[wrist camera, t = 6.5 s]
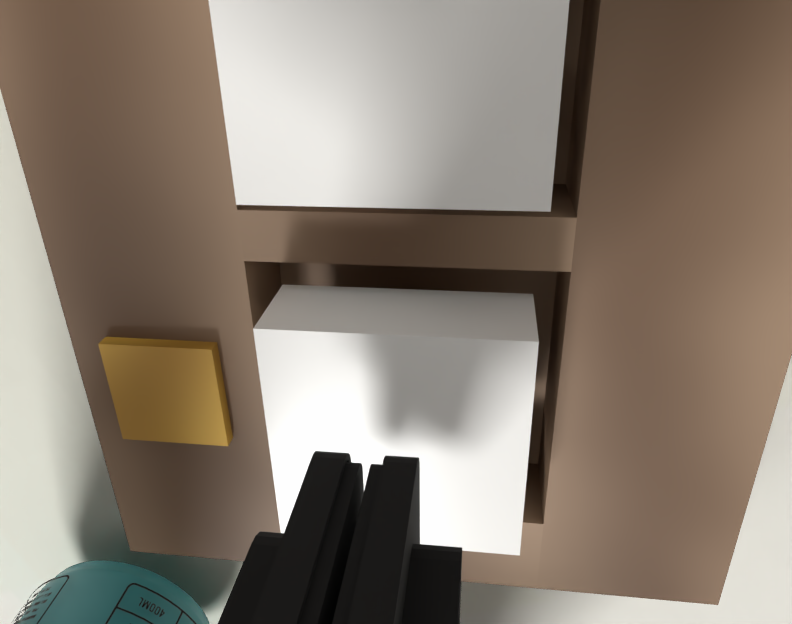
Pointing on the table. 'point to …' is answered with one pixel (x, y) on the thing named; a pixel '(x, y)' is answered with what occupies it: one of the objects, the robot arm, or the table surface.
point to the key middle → (392, 101)
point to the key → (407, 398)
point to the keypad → (436, 279)
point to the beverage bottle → (111, 598)
